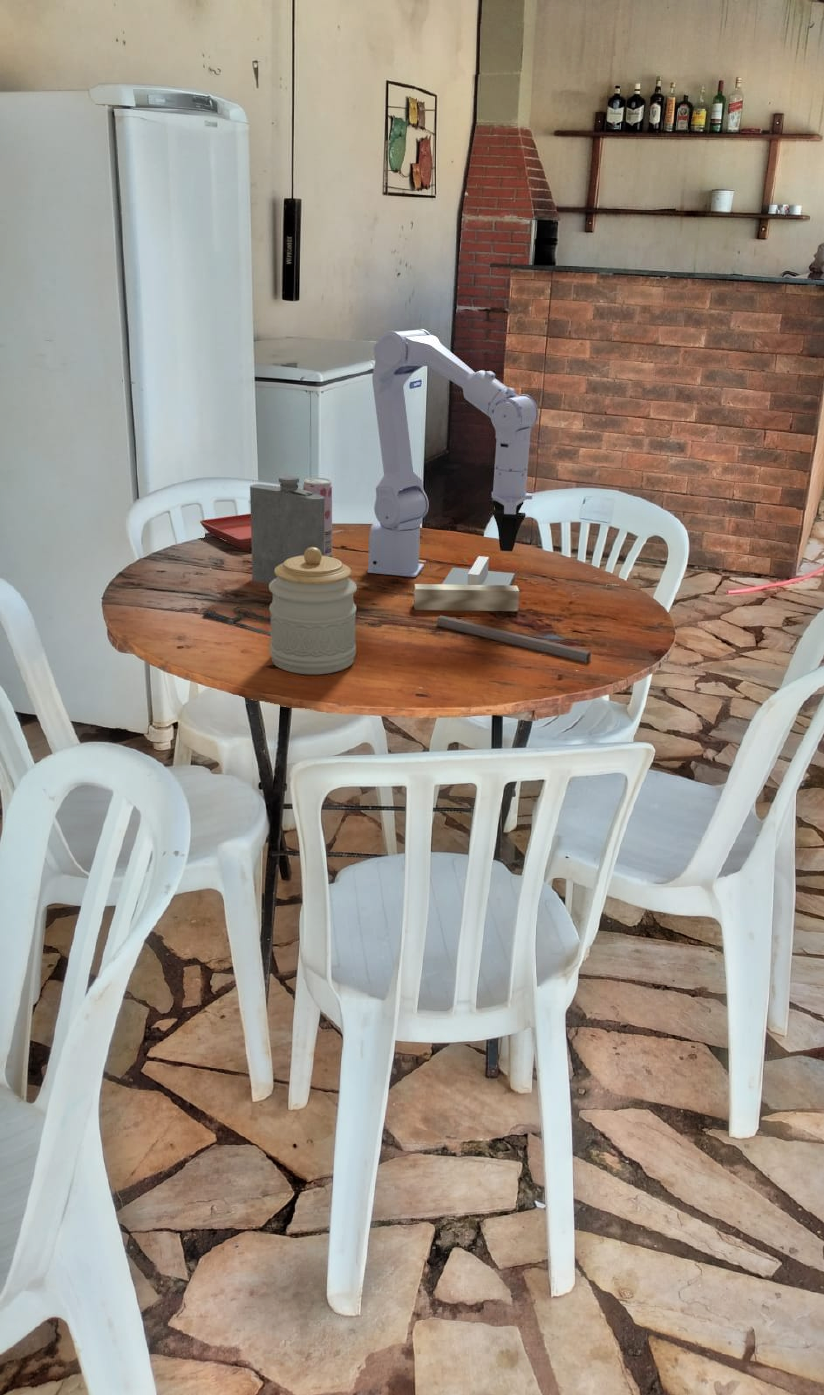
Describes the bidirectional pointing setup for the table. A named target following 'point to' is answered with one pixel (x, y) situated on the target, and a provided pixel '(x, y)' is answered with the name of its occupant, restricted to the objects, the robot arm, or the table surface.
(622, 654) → the table surface
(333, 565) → the jar
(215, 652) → the table surface
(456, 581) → the grey stepped base
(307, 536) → the hip flask
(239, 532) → the plant saucer
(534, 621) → the table surface
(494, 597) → the birch beam
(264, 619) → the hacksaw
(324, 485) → the beverage can
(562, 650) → the metal rod
